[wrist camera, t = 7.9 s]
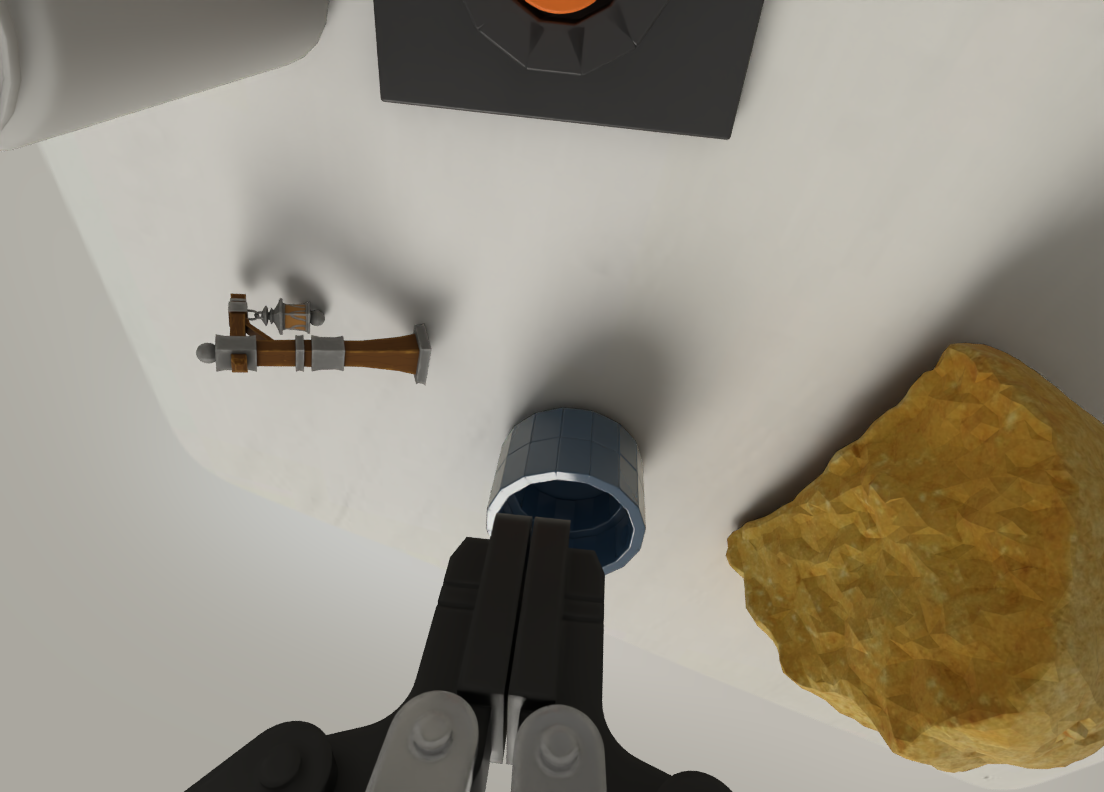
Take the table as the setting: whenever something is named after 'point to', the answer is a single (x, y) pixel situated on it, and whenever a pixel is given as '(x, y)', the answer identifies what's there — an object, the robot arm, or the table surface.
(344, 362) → the hanging lantern post
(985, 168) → the table surface
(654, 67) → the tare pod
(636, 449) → the blue-grey hollow cylinder
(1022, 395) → the decorative stone
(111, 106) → the beverage can
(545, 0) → the button
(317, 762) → the robot arm
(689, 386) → the table surface
